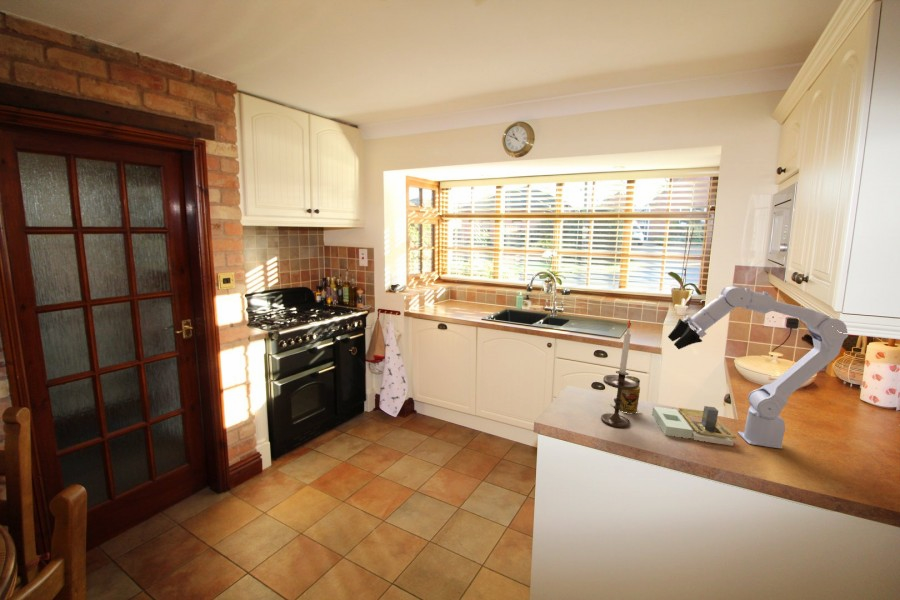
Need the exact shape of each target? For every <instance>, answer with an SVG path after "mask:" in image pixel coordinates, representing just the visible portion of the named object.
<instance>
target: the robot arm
mask: <svg viewBox="0 0 900 600" xmlns="http://www.w3.org/2000/svg"><path fill="white" fill-rule="evenodd" d="M735 308H742V309H746V310H750V311H753V312H757V313H762V314H768V313H771V312H773V313H774V312H775V313H779V314H782V315H786V316H788V317H792V318H797V319H799V320H800V321H801V323H804V324H805V326H806V329H807V331H808V333H809V334H810V336H811V338H812V343H813V348H811V349H810V351H808V352H807V353H806V354H804V356H801V358H800V359H799V360H798V361H796V362H795V363H794V364H792V366H791V367H789V368H788V369H786V370H785V371H784V372H783V373H782V374H780V376H778V378H776V379H775V380H774V381H772V383H768V384H764V385H762V386H761V387H759V388H757V389H754V390H752V391H750V392H749V394H748V395H747V400H748V403H749V405H750V407H748V411H747V414H746V415H747V417H746V420H745V426H744V431H737V434H738V435H739V436H741V438H742V439H744V440H745V442H747V444H749V445H754V446H760V447H769V448H775V449H780V450H781V449H783V448H784V447H783V446H782V445H783V441H784V435H785V431H786V423H785V420H784V418H782V417H781V416H780V415H781V413H782V412H783V411H782V410H783V408H785V406H786V405H787V404H788V401H789V400H788V398H789V396H791V395H792V394H793V393H795V391H797V390H798V389H800V388H801V386H803V385H804V384H805V383H806V382H808V381H809V380H810V379H811V378H813V377H814V376H815V375H816V374H818V373H819V372H820V371H821V370H823V368H825V367H826V366H827V365H829V363H830V362H832V361H833V360H834V359H836V358H837V357H838V356H839V355H840V352H841V349H842V346H843V344H844V341H845V340H846V339H847V338H848V337H849V333H848V328H847V324H846V323H845V322H844V321H843V320H841V319H838V318H835V317H834V318H833V317H831V316H830V315H827V314H825V313H822V312H819V311H816V310H814V309H811V308H808V307H804V306H798V305H795V304H790V303H786V302H782V301H776V299H775V298H774V297H773V295H770V294H769V292H767V291H762V292H758V291H754V290H751V289H750V288H748V287H745V288H742V287H737V286H734V285H731V286H727V287H724V288H722V290H721V292H720V294H719V295H718V296H716V298H713V299H712V301H710V302H709V303H707V304H706V305H705V306H704V307H703V308H701V309H700V310H698V311H697V312H696V313H695V314H693V315H692V316H689V315H686V316H685V318H684V319H683V320H682V319H681V318H679V319H678V321H677V322H676V325H675V326H674V328H673V329H672V331H671V332H670V333H669V334H668V335H667V338H668V339H669V340H670V341H671V342H674V343H673V345H674V346H675V347H676V348H677V349H678V350H682V349H683V348H685V347H688V346H690V345H693V344H697V343H702V342H703V340H702V339H701V338H703V337H705V336H706V335H707V332H706V331H707V330H709V328H710V327H712V326H714V324H716V323H717V322H719V321H720V320H721V319H722V318H723V317H725V316H727V315H728V314H729V313H730V312H731V311H733V310H734V309H735ZM832 326H833V327H832ZM837 330H838V331H839V332H842V333H839V332H838V331H837ZM843 333H848V334H843Z"/></svg>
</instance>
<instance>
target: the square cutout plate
mask: <svg viewBox="0 0 900 600" xmlns="http://www.w3.org/2000/svg"><path fill="white" fill-rule="evenodd" d="M678 411H679V410H678V409H676V408H667V407H666V408H665V407H660V406H652V411H651V416H652V417H653V416H654V417H653V419H654V420H655V422H656V421H657V422H656V423H657V425H658V424H659V425H658V426H659V428H660V429H661V431H662V432H663V434H664V435H665V436H668V437H674V436H675V438H681V437H683V439H688V438H691V439H693V438H692V432H693V430H692V428H691V427H690V426H689V425H688V423H687V422H686V419H685V418H684V417H683V416H682V415H680V413H679V412H678Z"/></svg>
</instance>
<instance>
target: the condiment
mask: <svg viewBox="0 0 900 600" xmlns="http://www.w3.org/2000/svg"><path fill="white" fill-rule="evenodd" d="M625 377H628V378H631V379H634V380H636V381H637V382H638V383H639V387H638V389H635V390H624V389H622V394H621V399H622V400H623V402H622V404H620V407H621V409H620V410H621V411H623V412H627V413H635V415H636V412H637V414H643V411H640V410H639V409H638V406H639V399H640V391H641V387H640V382H641V380H640V378H638V377H636V376H630V375H625ZM609 405H610V406H612V407H613V406H615V403H614V404H609ZM620 410H619V412H621V411H620ZM638 412H639V413H638Z"/></svg>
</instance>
